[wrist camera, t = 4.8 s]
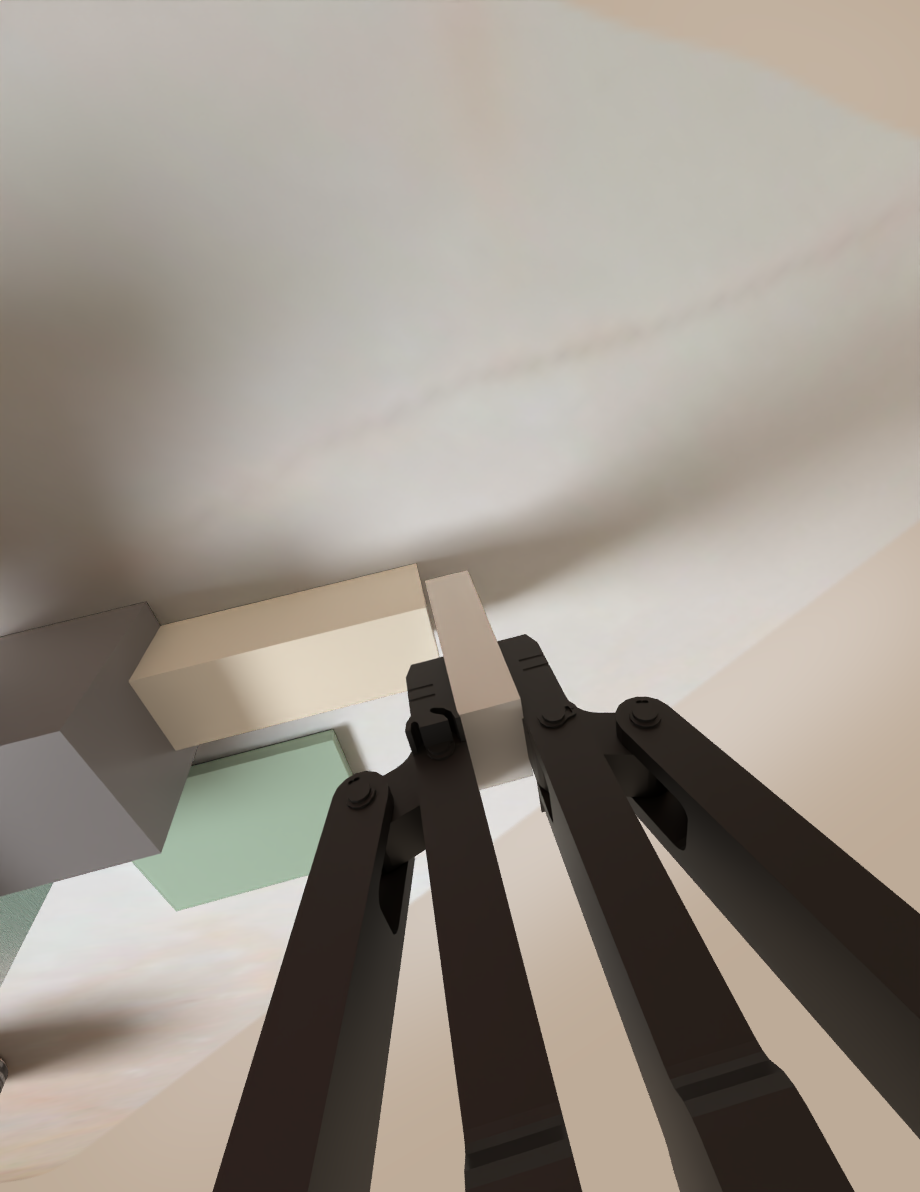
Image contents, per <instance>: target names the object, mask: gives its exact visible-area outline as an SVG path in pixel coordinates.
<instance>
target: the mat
mask: <svg viewBox="0 0 920 1192" xmlns="http://www.w3.org/2000/svg"><path fill="white" fill-rule="evenodd" d="M352 775H353V774H352V772H351V769H350V767H349V765H348V762H347V760H346V758H345V756H344V753H343V751H342V749H341V746H340V744H339V742H338V739H337V737H336V735H335V733H334V730H329V731H325V732H321V733H317V734H313V735H309V736H306V737H302V738H298V739H294V740H290V741H286V742H283V743H279V744H275V745H271V746H267V747H263V748H260V749H256V750H252V751H248V752H244V753H240V754H236V755H233V756H229V757H225V758H221V759H217V760H213V761H210V762H206V763H202V764H198V765H194V766H191V768H190V771H189V774H188V777H187V780H186V783H185V786H184V788H183V791H182V794H181V797H180V800H179V803H178V806H177V809H176V812H175V815H174V818H173V820H172V823H171V826H170V829H169V832H168V835H167V838H166V841H165V844H164V847H163V850H162V852H161V854H157V855H153V856H149V857H146V858H142V859H138V860H134V861H132V862H133V864H134V865H135V866H136V867H137V868H138V869H139V870H140V871H141V873H142V874H143V875H144V876H145V877H146V878H147V879H148V880H149V882H150V883H151V884H152V885H153V886H154V887H155V888H156V889H157V890H158V892H159V893H160V894H161V895H162V896H163V897H164V898H165V899H166V901H167V902H168V903H169V904H170V905H171V906H172V907H173V908H174V909H175V911H179V910H183V909H187V908H190V907H194V906H198V905H201V904H205V903H209V902H212V901H216V900H220V899H223V898H227V897H230V896H234V895H238V894H241V893H245V892H249V891H252V890H256V889H260V888H263V887H267V886H270V885H274V884H278V883H281V882H285V881H289V880H292V879H296V878H300V877H303V876H307V875H309V873H310V870H311V866H312V863H313V860H314V857H315V853H316V850H317V847H318V843H319V840H320V837H321V833H322V830H323V827H324V824H325V820H326V817H327V814H328V810H329V807H330V804H331V801H332V797H333V795H334V793H335V791H336V789H337V787H338V786H339V785H340V784H341V783H342V782H343V781H344V780H345V779H347V778H349V777H350V776H352Z"/></svg>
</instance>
